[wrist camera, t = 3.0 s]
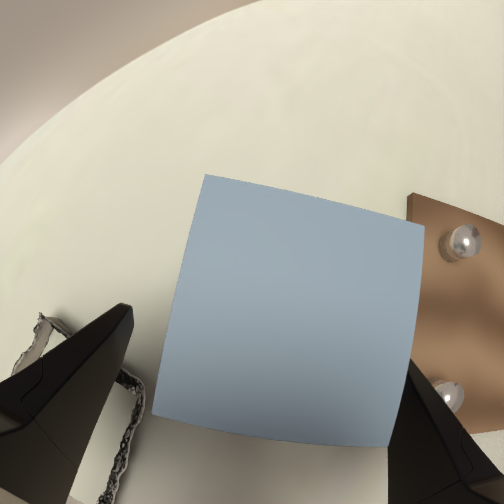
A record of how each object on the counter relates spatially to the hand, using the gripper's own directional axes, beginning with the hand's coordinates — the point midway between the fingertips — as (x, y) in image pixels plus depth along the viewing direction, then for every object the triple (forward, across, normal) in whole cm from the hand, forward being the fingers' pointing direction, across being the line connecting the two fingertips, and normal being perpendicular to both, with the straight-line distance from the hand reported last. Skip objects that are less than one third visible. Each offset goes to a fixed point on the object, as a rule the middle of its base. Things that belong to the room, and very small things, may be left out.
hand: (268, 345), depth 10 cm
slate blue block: (+6, 0, +5) cm, 8 cm away
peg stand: (+8, -17, +4) cm, 19 cm away
